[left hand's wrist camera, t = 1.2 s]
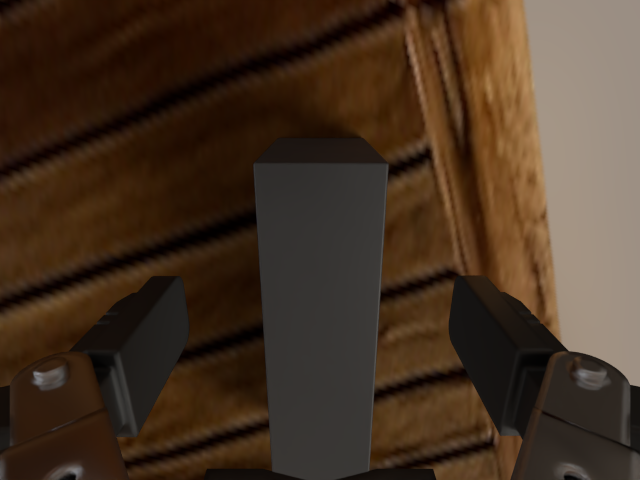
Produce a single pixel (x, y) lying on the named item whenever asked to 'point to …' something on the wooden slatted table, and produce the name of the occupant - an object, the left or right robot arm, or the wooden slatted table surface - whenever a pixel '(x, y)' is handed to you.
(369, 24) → the wooden slatted table surface
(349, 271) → the bar
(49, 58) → the wooden slatted table surface
